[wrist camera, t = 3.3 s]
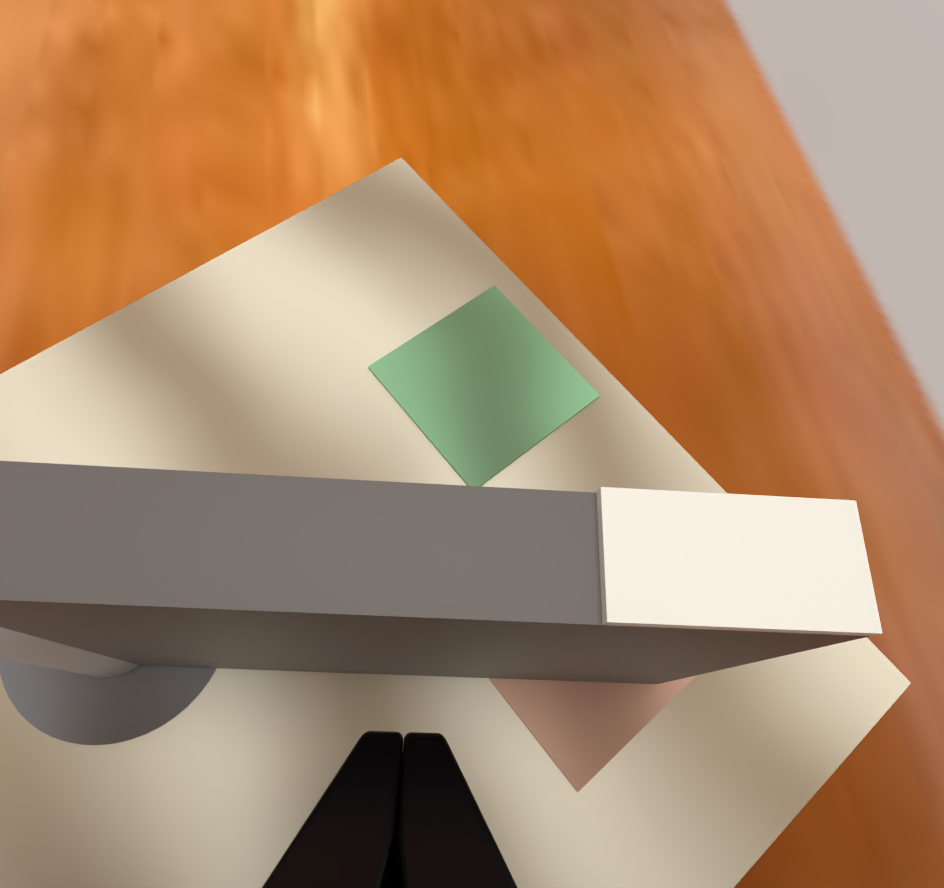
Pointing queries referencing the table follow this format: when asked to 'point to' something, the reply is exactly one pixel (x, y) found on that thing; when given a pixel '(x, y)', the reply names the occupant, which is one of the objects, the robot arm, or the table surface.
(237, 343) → the cream square board
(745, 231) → the table surface
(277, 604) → the grey upright slab
